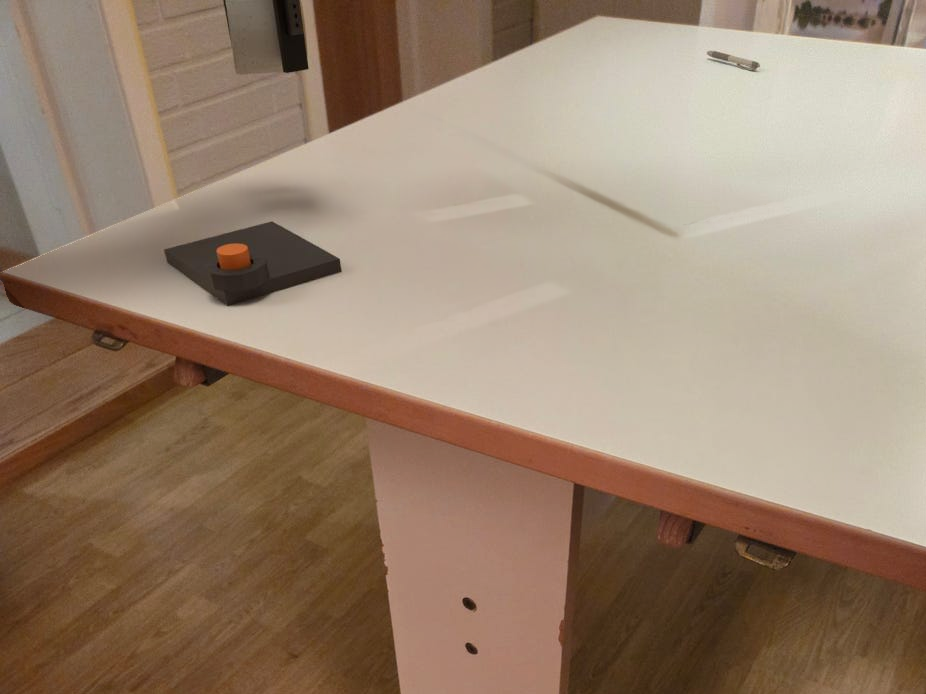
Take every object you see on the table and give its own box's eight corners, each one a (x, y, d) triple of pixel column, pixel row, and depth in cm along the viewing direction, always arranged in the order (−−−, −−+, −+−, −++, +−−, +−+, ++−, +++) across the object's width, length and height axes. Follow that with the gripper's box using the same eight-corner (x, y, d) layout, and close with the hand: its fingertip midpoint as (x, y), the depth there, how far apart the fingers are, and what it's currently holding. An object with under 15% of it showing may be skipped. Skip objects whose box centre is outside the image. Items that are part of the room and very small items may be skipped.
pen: (756, 72, 149) (757, 62, 148) (703, 58, 158) (704, 49, 157) (760, 71, 150) (762, 62, 149) (708, 58, 159) (709, 48, 158)
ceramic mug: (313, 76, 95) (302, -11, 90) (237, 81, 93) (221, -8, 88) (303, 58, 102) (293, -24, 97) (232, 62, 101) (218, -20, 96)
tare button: (215, 266, 86) (211, 248, 85) (243, 259, 87) (239, 240, 86) (228, 275, 84) (224, 257, 83) (256, 267, 85) (252, 249, 84)
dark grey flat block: (163, 263, 94) (155, 234, 92) (274, 233, 99) (269, 205, 97) (227, 311, 84) (220, 280, 82) (346, 274, 90) (342, 245, 88)
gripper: (139, -209, 87) (193, 51, 102) (248, -216, 73) (292, 85, 89) (208, -210, 90) (251, 42, 105) (324, -217, 77) (354, 73, 92)
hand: (269, 62), depth 97 cm, fingers closed on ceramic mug, 11 cm apart
